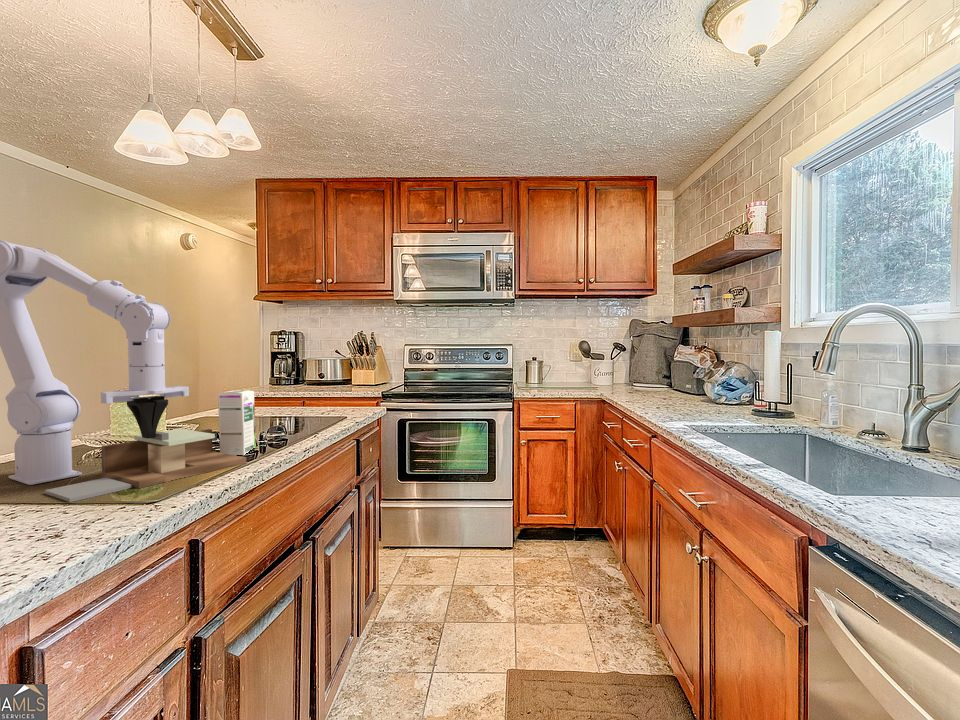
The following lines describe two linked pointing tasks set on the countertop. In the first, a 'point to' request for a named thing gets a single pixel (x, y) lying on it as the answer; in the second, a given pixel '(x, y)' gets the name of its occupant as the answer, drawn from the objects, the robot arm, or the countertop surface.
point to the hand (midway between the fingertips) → (148, 437)
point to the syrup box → (236, 422)
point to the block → (165, 457)
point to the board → (132, 468)
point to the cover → (176, 437)
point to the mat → (87, 489)
